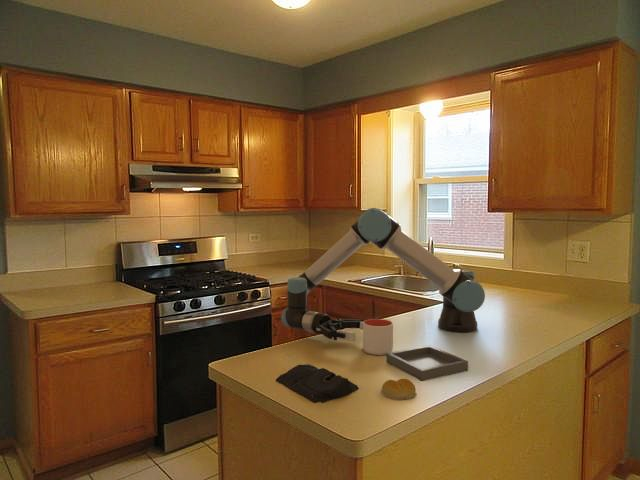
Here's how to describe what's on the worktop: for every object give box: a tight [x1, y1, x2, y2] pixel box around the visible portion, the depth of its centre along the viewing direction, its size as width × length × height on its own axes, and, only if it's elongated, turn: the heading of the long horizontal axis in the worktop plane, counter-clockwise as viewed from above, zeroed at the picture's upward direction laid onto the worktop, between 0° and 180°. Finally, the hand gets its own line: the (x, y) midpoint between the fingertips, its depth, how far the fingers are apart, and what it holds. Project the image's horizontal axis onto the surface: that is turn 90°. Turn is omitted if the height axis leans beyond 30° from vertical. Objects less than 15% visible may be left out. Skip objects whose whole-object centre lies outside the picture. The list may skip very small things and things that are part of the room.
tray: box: [385, 344, 469, 382], centre depth 146 cm, size 17×17×3 cm
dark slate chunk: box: [275, 363, 359, 404], centre depth 132 cm, size 15×22×5 cm
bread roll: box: [381, 378, 417, 401], centre depth 126 cm, size 8×9×4 cm
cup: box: [362, 318, 394, 356], centre depth 161 cm, size 10×10×10 cm
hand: (365, 332), depth 163 cm, fingers open, 13 cm apart
